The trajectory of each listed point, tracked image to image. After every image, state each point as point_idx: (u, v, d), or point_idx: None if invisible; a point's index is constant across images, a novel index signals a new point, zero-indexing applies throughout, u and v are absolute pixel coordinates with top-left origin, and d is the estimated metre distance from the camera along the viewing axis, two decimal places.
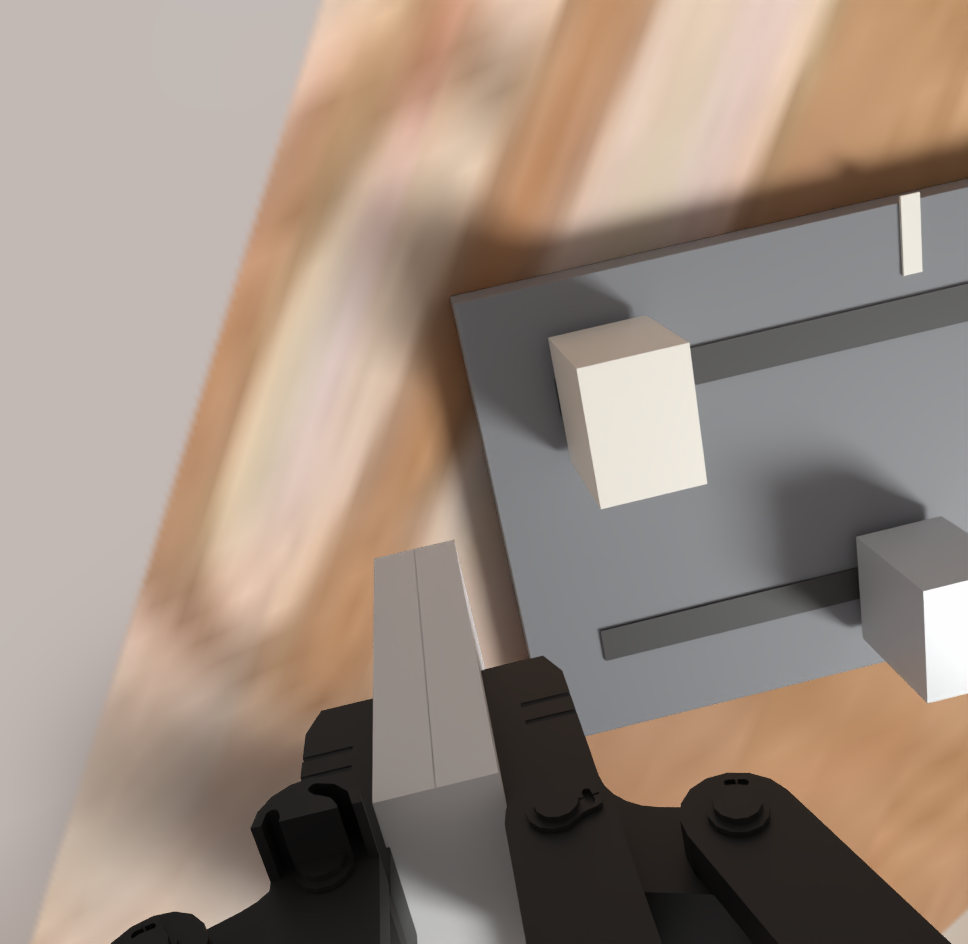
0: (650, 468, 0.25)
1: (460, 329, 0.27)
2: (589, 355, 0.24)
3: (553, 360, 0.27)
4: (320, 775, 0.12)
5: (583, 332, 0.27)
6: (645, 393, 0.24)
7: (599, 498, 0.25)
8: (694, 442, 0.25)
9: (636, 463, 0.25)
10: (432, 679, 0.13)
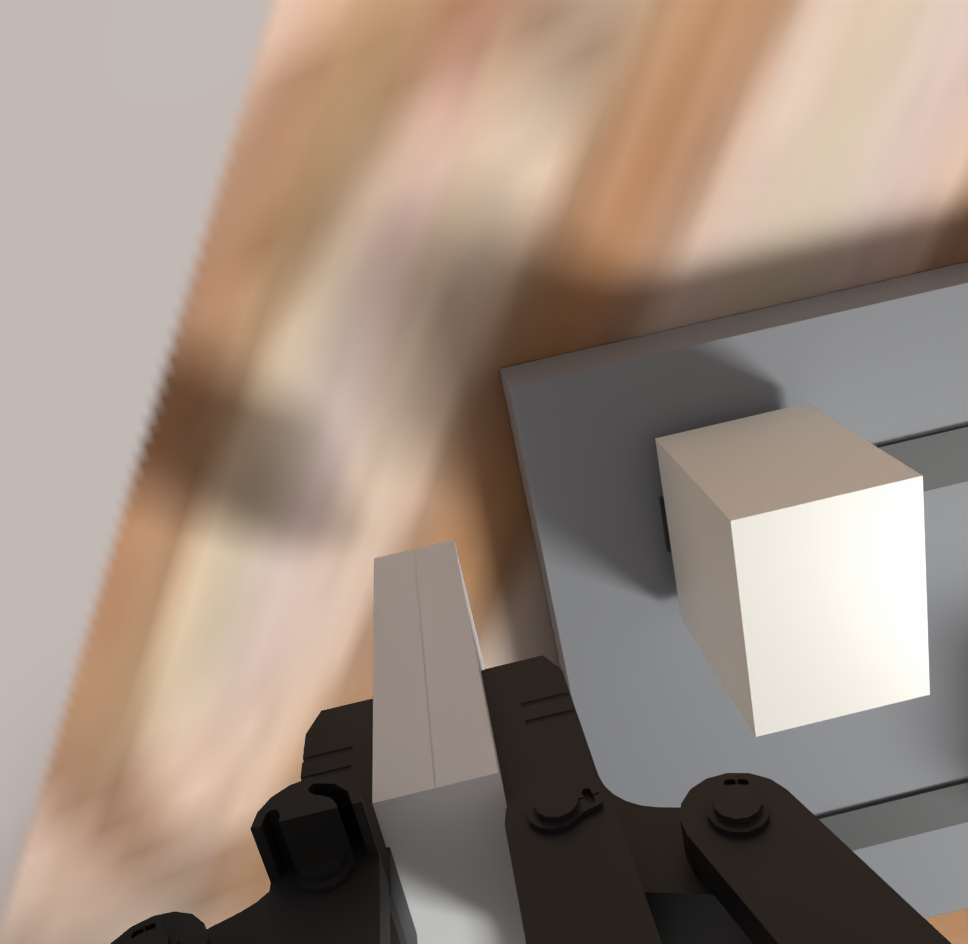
0: (840, 673, 0.15)
1: (518, 425, 0.18)
2: (743, 488, 0.15)
3: (663, 474, 0.18)
4: (320, 775, 0.12)
5: (712, 433, 0.17)
6: (842, 558, 0.14)
7: (754, 720, 0.15)
8: (914, 632, 0.15)
9: (818, 666, 0.15)
10: (432, 679, 0.13)
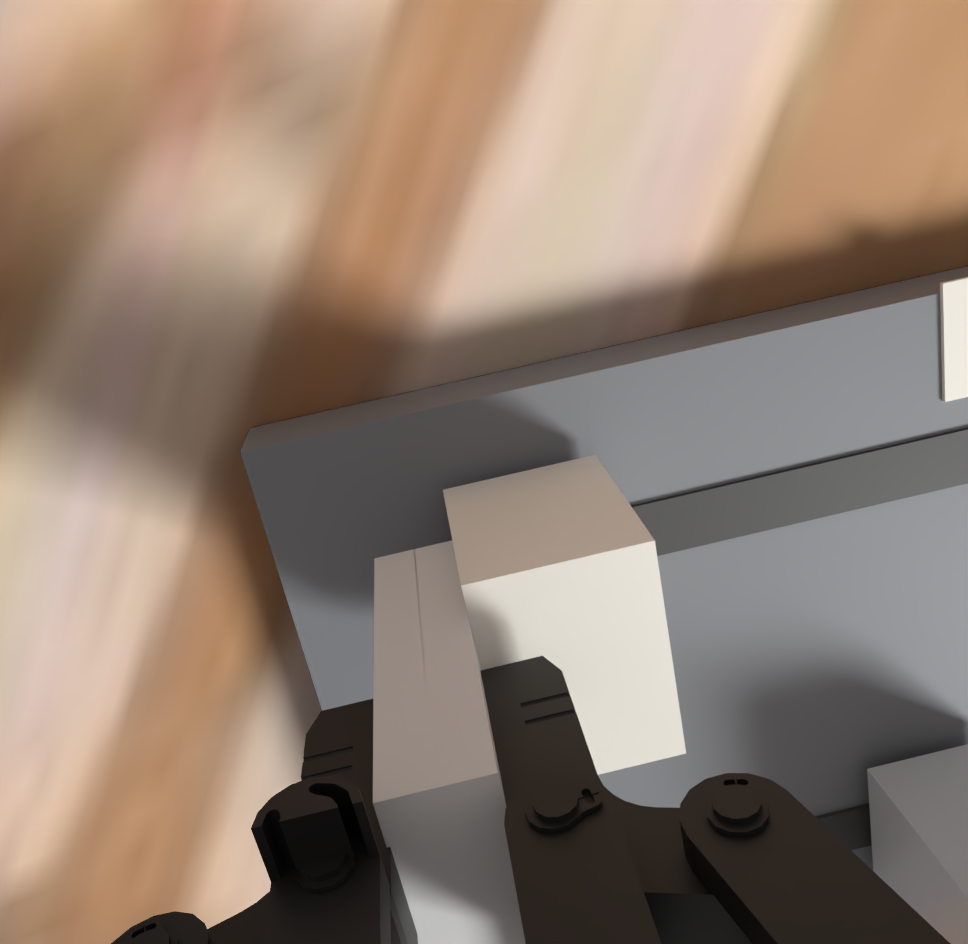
0: (591, 733, 0.15)
1: (253, 488, 0.17)
2: (490, 549, 0.15)
3: None
4: (320, 775, 0.12)
5: (496, 485, 0.17)
6: (581, 621, 0.14)
7: None
8: (663, 693, 0.15)
9: None
10: (432, 679, 0.13)
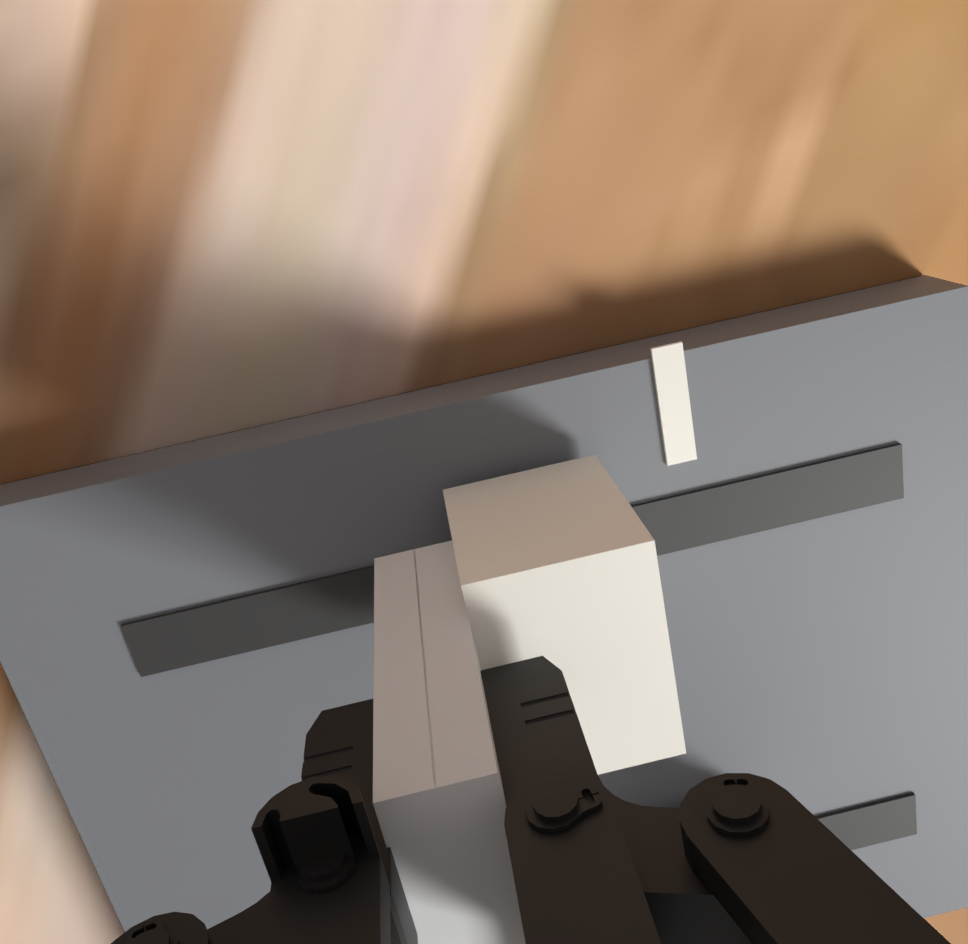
0: (591, 733, 0.15)
1: None
2: (490, 549, 0.15)
3: None
4: (321, 775, 0.12)
5: (496, 485, 0.17)
6: (580, 620, 0.14)
7: None
8: (663, 692, 0.15)
9: None
10: (433, 679, 0.13)
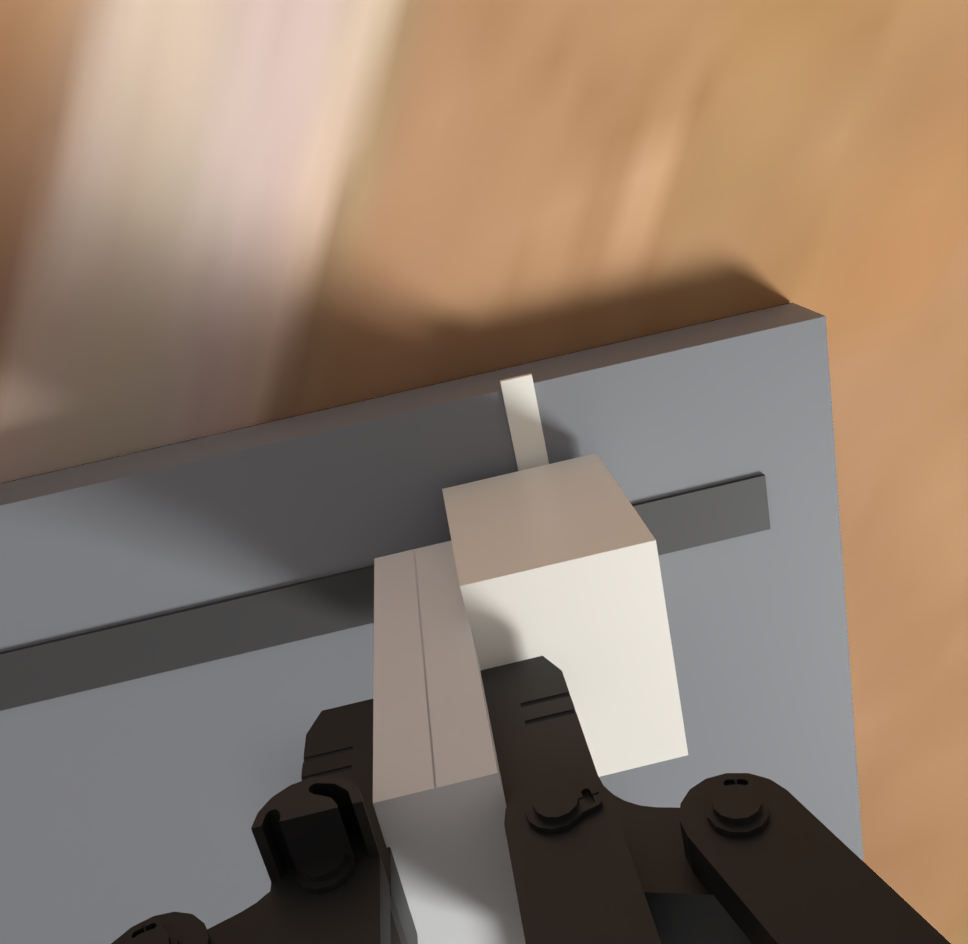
0: (592, 735, 0.15)
1: None
2: (489, 549, 0.15)
3: None
4: (320, 775, 0.12)
5: (496, 484, 0.17)
6: (580, 621, 0.14)
7: None
8: (665, 693, 0.15)
9: None
10: (433, 679, 0.13)
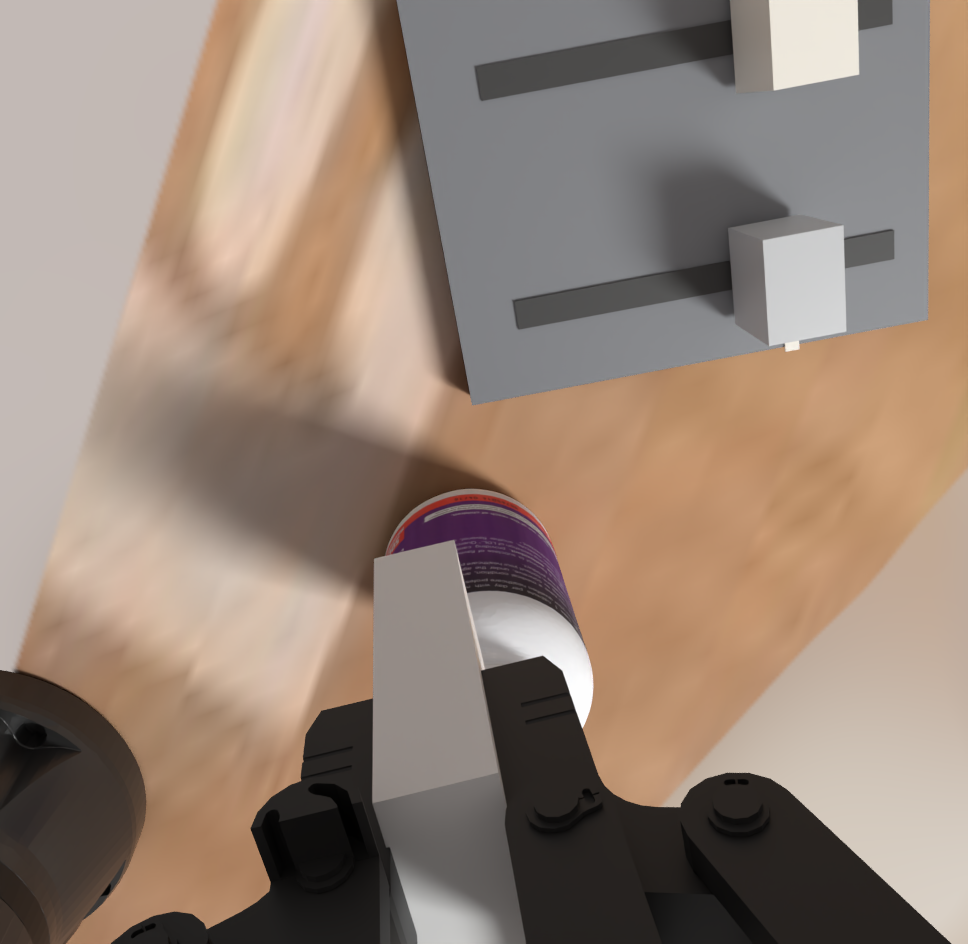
0: (815, 56, 0.31)
1: (400, 17, 0.34)
2: None
3: None
4: (320, 775, 0.12)
5: None
6: None
7: (773, 81, 0.32)
8: (852, 35, 0.31)
9: (804, 50, 0.31)
10: (432, 679, 0.13)
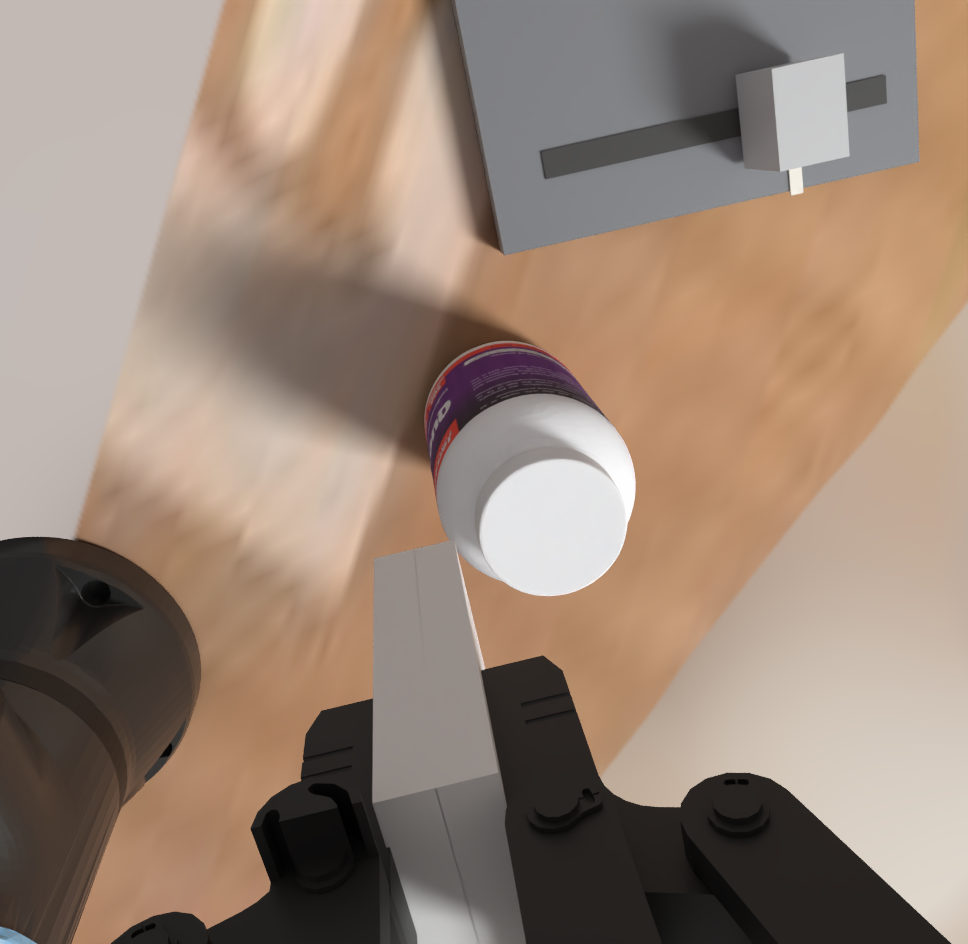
0: None
1: None
2: None
3: None
4: (320, 775, 0.12)
5: None
6: None
7: None
8: None
9: None
10: (432, 679, 0.13)
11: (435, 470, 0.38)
